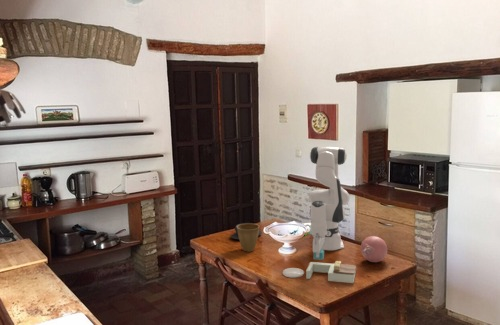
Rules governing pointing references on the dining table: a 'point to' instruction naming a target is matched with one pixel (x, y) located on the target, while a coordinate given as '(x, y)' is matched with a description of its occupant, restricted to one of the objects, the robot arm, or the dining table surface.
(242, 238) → the plant pot
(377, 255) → the pink round piece
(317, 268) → the board
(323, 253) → the block
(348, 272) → the lid
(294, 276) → the plate
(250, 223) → the casserole
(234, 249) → the dining table surface
